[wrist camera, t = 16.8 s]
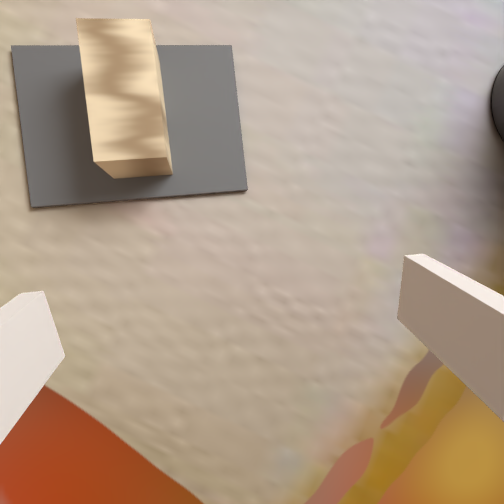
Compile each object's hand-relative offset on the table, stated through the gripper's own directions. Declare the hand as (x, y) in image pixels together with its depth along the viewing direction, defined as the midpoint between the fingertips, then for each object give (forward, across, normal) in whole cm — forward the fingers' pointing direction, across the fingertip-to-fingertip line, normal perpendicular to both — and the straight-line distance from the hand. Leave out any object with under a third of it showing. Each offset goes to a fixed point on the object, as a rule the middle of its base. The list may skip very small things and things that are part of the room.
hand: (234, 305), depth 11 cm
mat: (+26, -8, +8) cm, 29 cm away
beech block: (+21, -8, +4) cm, 23 cm away
